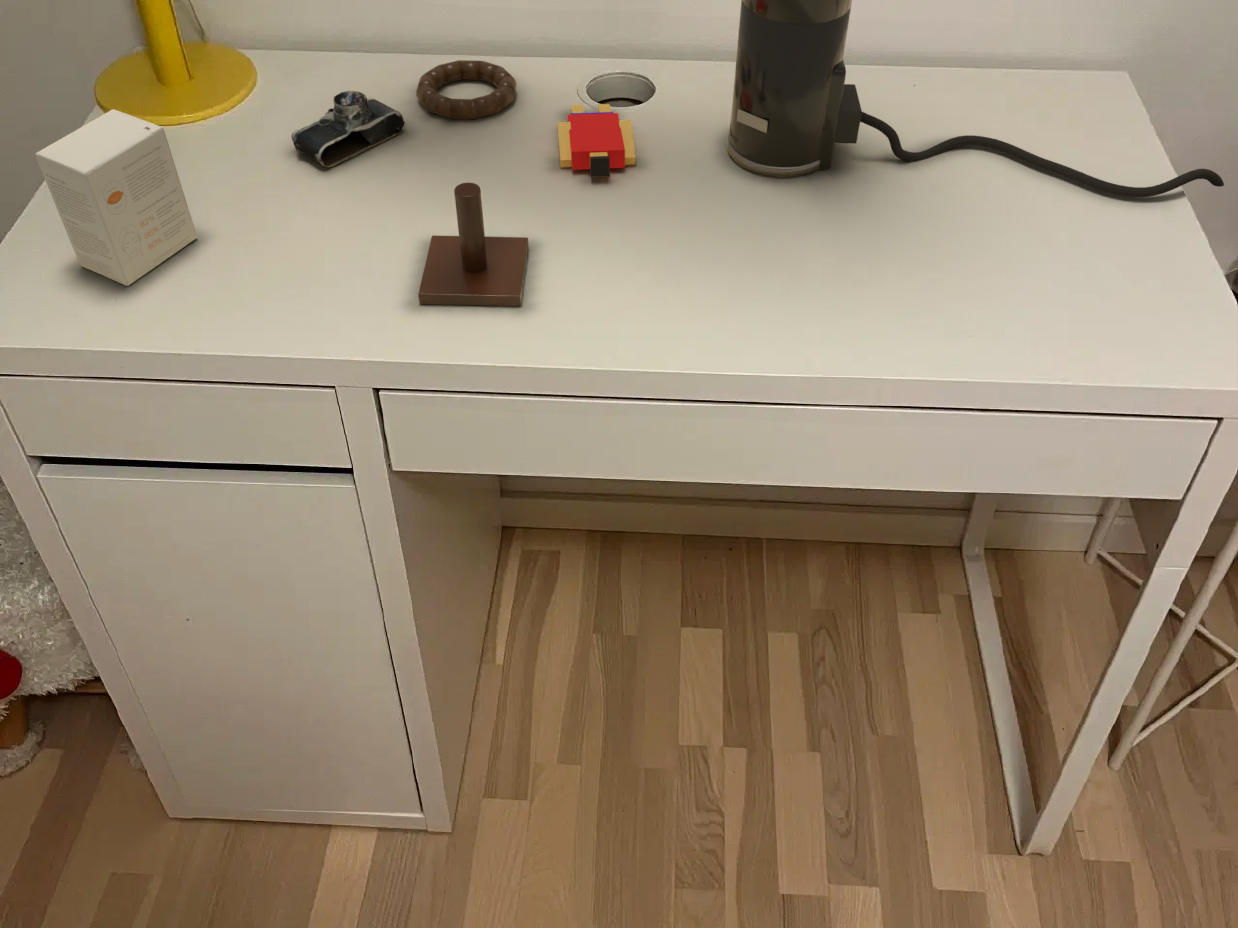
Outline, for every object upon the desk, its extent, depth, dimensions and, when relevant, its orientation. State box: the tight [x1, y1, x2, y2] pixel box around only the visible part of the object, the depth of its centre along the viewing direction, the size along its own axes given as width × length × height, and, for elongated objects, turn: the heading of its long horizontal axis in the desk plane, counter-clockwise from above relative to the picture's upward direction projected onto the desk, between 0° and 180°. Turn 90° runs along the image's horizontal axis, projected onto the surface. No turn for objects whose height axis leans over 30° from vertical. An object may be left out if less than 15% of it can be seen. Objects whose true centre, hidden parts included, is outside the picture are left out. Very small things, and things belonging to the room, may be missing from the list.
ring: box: [415, 59, 517, 120], centre depth 113 cm, size 10×10×2 cm
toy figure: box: [557, 103, 637, 178], centre depth 106 cm, size 2×7×12 cm
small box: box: [35, 108, 198, 287], centre depth 91 cm, size 8×6×10 cm
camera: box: [290, 90, 406, 168], centre depth 106 cm, size 5×10×4 cm, turn 137°
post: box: [417, 182, 529, 307], centre depth 90 cm, size 8×8×8 cm
